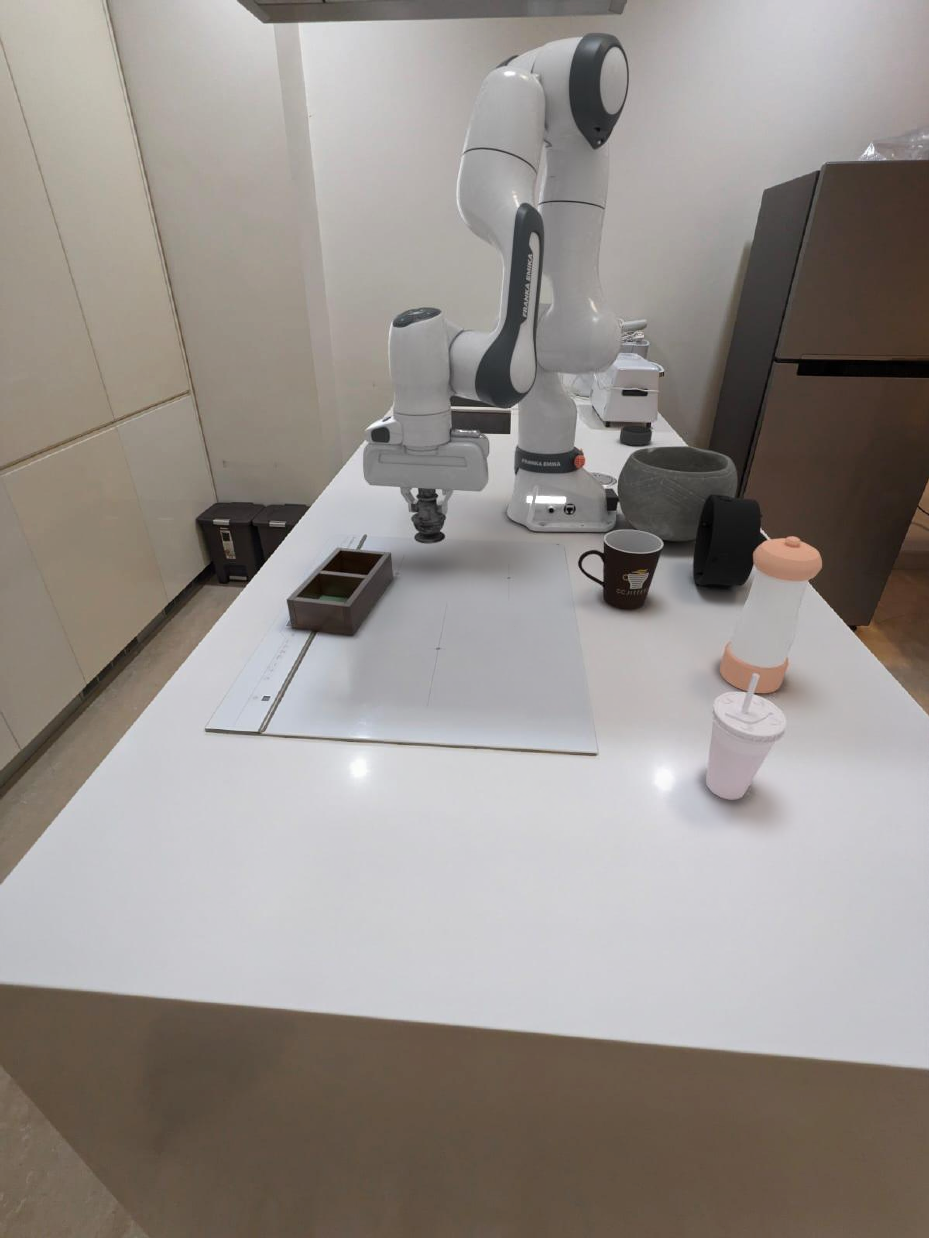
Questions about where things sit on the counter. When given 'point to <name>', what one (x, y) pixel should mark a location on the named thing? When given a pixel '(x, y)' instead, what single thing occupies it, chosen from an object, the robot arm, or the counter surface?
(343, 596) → the divided wooden box
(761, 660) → the pepper shaker
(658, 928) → the counter surface
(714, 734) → the smoothie
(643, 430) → the smart speaker
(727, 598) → the counter surface
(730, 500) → the black cylinder
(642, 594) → the coffee mug
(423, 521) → the salt shaker
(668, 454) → the bowl
